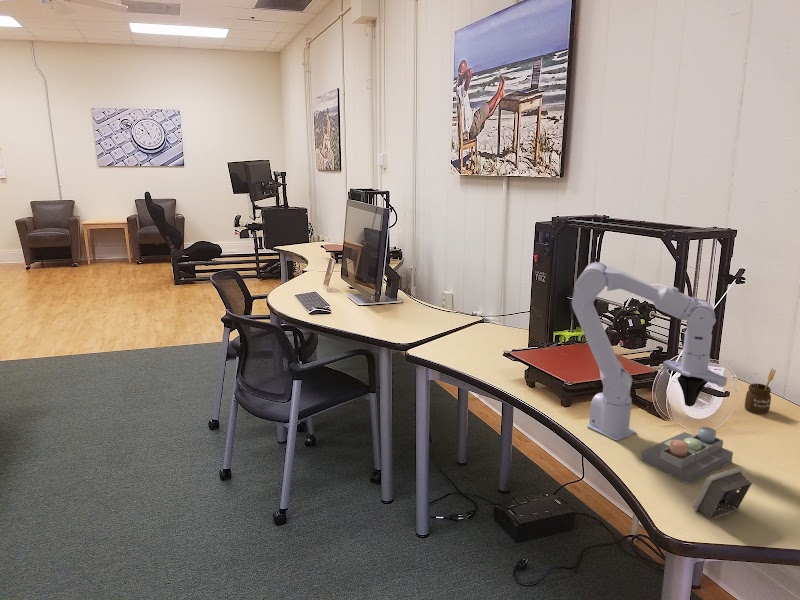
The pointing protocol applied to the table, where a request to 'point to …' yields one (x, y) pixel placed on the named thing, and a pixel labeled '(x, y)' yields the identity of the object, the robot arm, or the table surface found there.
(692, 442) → the sage button
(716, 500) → the electrical switch
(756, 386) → the utensil holder
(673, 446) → the terracotta button
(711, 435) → the slate button
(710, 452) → the console
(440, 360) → the table surface
